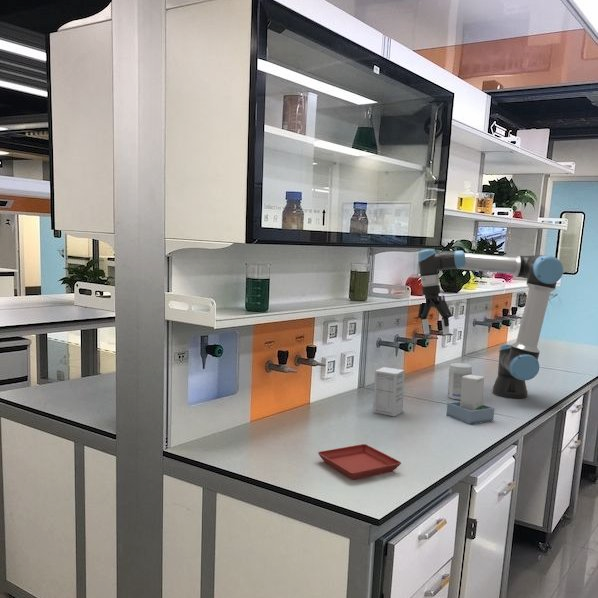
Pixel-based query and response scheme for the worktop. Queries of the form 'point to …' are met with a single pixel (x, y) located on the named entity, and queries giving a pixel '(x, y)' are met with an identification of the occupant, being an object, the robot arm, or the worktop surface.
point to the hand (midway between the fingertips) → (436, 334)
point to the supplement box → (388, 391)
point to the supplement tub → (457, 379)
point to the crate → (470, 413)
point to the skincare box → (472, 392)
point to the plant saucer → (359, 461)
